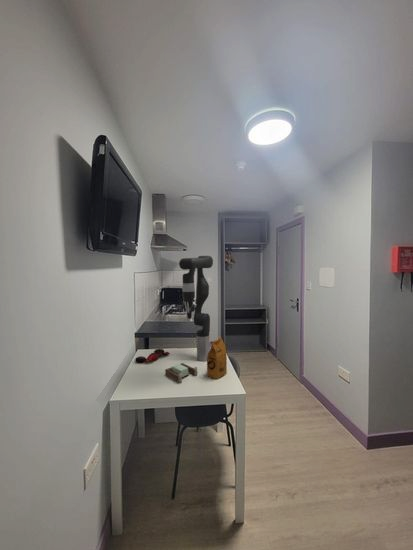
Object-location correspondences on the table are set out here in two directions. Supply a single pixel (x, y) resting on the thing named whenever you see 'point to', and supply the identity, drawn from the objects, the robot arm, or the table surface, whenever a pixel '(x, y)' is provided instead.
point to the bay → (179, 377)
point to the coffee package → (217, 359)
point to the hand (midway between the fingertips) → (189, 318)
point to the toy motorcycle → (152, 356)
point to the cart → (180, 370)
